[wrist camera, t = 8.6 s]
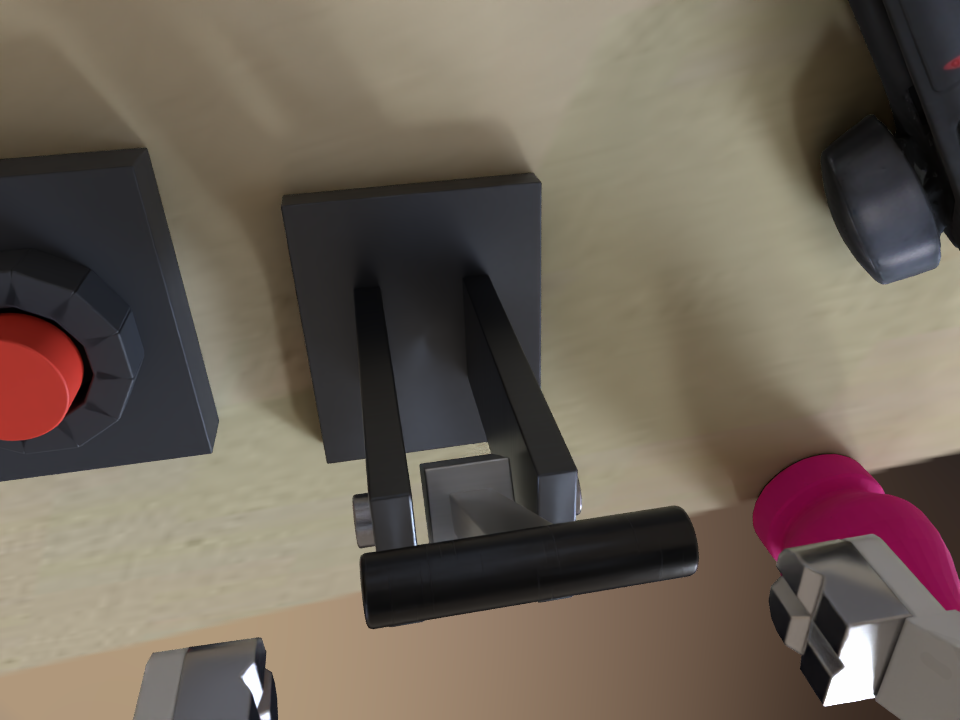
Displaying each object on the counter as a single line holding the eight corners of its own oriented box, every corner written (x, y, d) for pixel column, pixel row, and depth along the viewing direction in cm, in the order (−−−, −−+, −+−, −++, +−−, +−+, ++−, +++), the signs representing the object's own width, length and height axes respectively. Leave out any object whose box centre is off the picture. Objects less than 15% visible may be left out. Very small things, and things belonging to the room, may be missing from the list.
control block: (-154, 170, 23) (-234, 213, 20) (147, 146, 25) (118, 183, 21) (-20, 451, 29) (-65, 521, 26) (219, 420, 30) (206, 484, 27)
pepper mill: (896, 493, 40) (1323, 924, 23) (784, 572, 41) (1103, 1029, 24) (836, 419, 36) (1285, 862, 19) (716, 509, 38) (1032, 989, 21)
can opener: (992, 196, 31) (1111, 246, 27) (839, 282, 32) (929, 345, 27) (914, -296, 22) (1076, -354, 17) (704, -159, 23) (803, -179, 18)
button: (-62, 318, 23) (-90, 346, 21) (64, 305, 23) (46, 332, 22) (-17, 416, 25) (-40, 448, 23) (99, 402, 25) (84, 433, 24)
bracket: (282, 195, 26) (251, 391, 15) (534, 172, 27) (670, 339, 17) (326, 446, 32) (328, 721, 21) (534, 418, 33) (636, 665, 22)
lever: (351, 513, 11) (372, 687, 10) (688, 464, 11) (712, 626, 11) (370, 470, 21) (380, 555, 21) (540, 446, 22) (552, 528, 22)
